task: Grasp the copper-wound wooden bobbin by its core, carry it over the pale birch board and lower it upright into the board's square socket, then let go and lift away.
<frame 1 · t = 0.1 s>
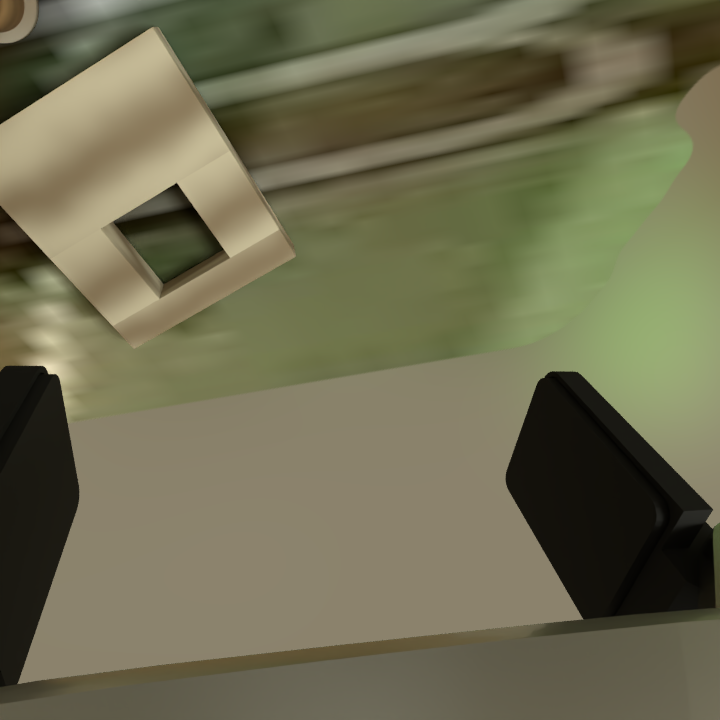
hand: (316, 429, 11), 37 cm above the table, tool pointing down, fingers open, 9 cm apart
socket board: (147, 199, 43), on the table
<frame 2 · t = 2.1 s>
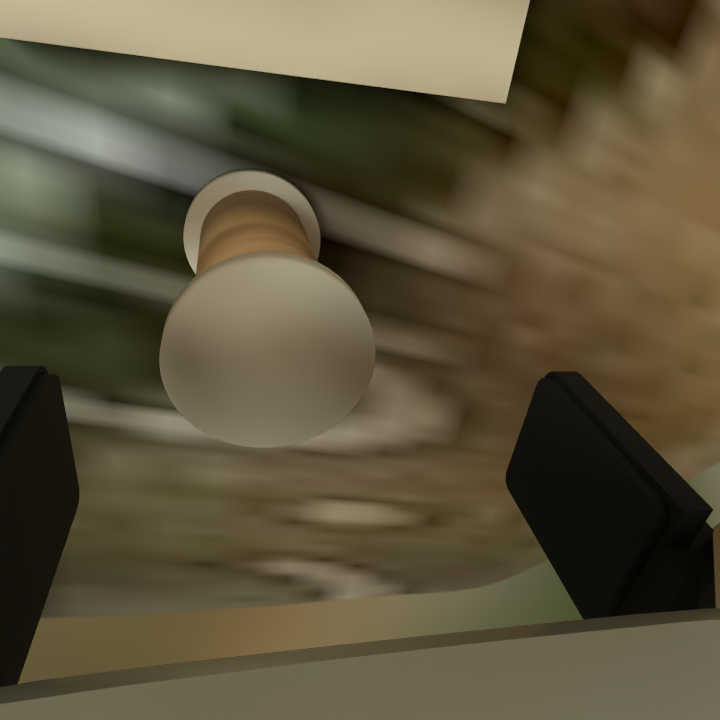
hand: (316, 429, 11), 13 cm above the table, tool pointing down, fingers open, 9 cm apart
bobbin: (253, 236, 22), on the table
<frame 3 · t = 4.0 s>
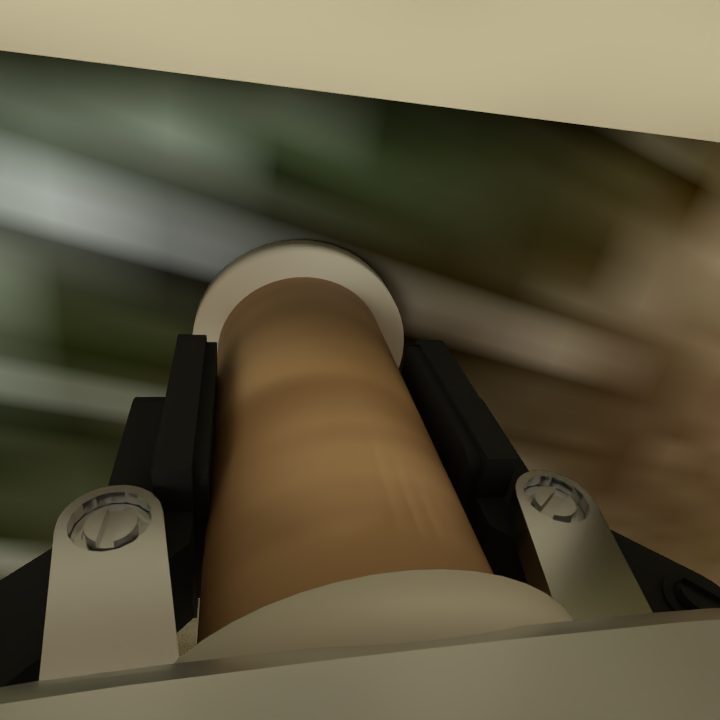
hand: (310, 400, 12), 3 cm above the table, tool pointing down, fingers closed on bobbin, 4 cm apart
bobbin: (298, 337, 14), on the table, touching gripper
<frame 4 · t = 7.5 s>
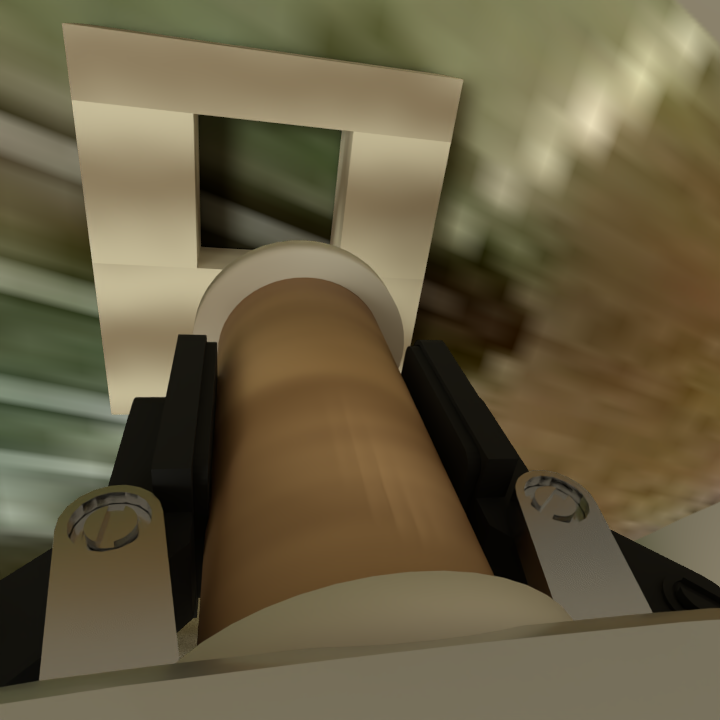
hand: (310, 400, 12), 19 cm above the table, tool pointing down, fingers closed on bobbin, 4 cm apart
socket board: (267, 243, 29), on the table
bobbin: (298, 337, 14), point 16 cm above the table, touching gripper
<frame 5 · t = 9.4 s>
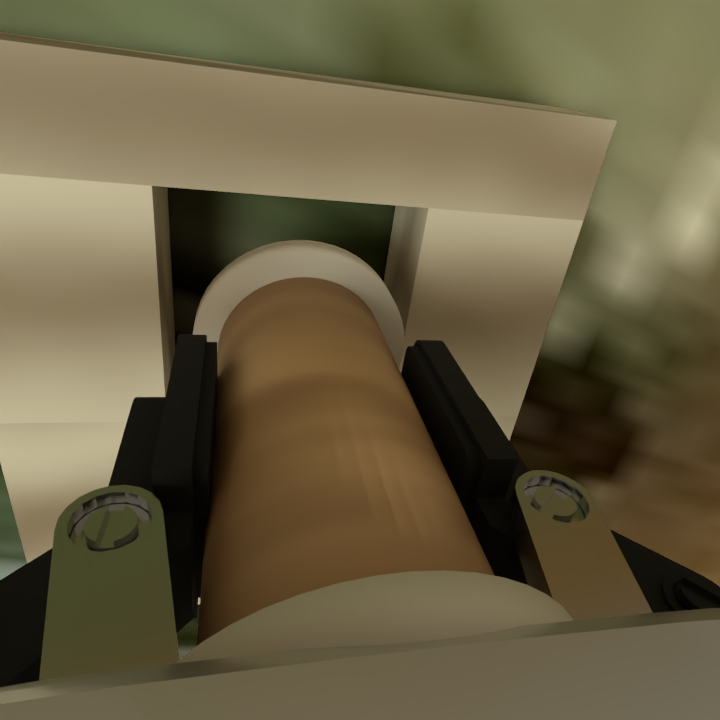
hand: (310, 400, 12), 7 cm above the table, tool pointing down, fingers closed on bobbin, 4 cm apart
socket board: (277, 359, 19), on the table
bobbin: (298, 337, 14), point 4 cm above the table, touching gripper
when the fingers open (5 cm above the table, at t = 10.8 s): bobbin stays where it is, resting in socket board.
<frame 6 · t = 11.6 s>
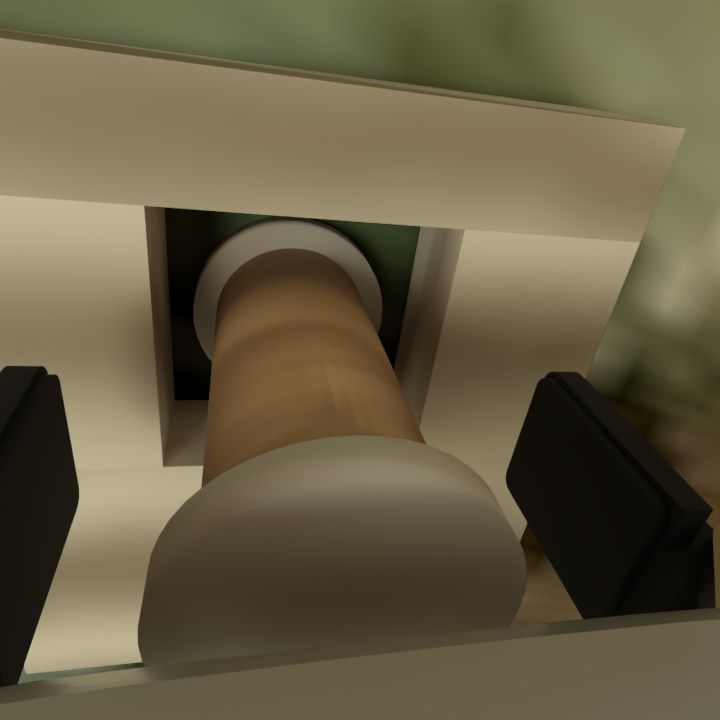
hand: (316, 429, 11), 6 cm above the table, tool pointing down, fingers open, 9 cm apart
socket board: (286, 389, 17), on the table
bobbin: (288, 305, 16), resting in socket board
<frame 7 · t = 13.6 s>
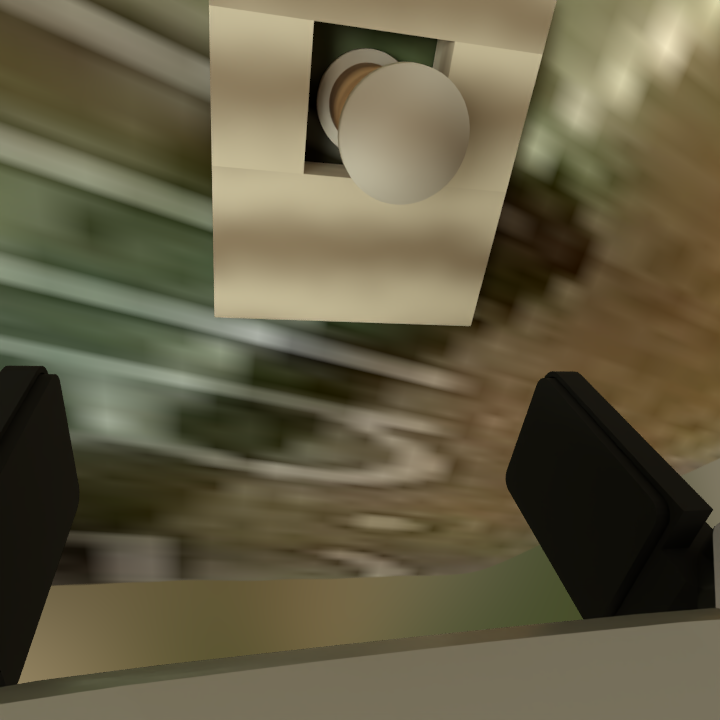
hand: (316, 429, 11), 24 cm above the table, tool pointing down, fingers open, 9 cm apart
socket board: (359, 159, 31), on the table
bobbin: (363, 102, 29), resting in socket board
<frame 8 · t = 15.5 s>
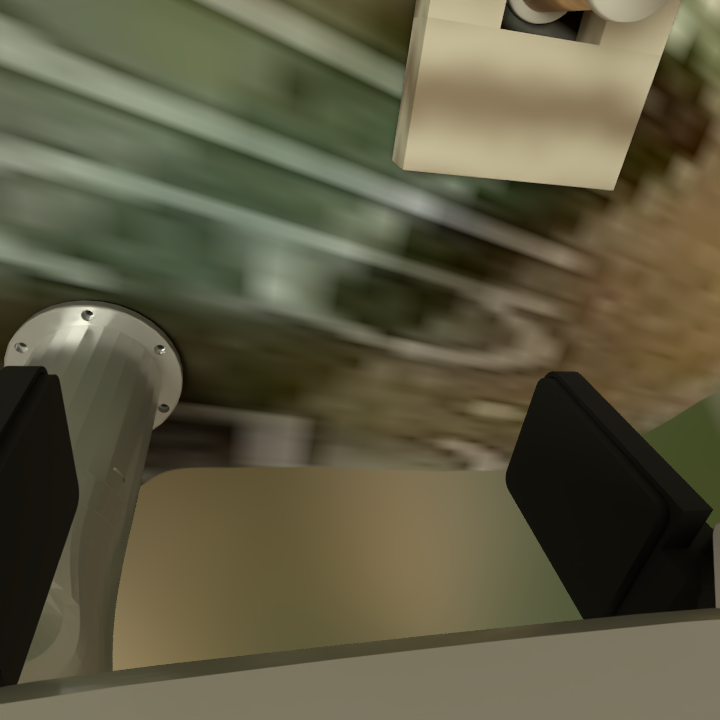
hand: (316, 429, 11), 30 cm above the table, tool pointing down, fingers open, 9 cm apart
socket board: (530, 29, 35), on the table
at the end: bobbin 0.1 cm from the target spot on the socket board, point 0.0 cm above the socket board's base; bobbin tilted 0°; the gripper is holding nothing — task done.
